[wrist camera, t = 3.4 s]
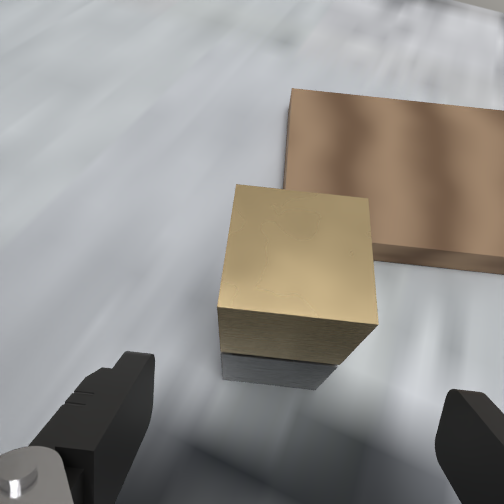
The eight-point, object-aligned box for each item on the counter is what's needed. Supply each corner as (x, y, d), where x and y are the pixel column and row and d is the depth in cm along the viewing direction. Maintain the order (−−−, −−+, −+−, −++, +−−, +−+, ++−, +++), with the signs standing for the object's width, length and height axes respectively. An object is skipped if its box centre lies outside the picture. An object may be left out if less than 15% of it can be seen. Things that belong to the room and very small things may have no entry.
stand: (278, 249, 25) (282, 232, 23) (288, 109, 32) (291, 88, 30) (585, 283, 24) (612, 268, 23) (525, 134, 32) (542, 114, 30)
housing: (222, 379, 20) (217, 306, 12) (233, 294, 23) (236, 184, 14) (315, 390, 20) (378, 324, 12) (316, 303, 23) (368, 198, 14)
